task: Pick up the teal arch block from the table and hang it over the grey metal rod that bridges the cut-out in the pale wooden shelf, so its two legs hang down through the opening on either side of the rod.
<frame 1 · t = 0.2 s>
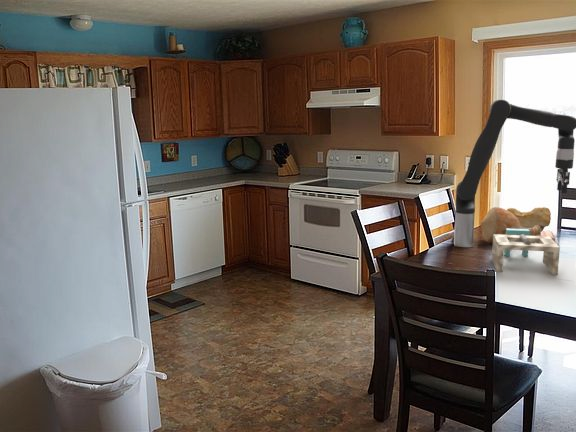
hand: (561, 191, 269), 29 cm above the table, fingers open, 8 cm apart
shelf: (523, 266, 246), on the table
orange-brown rounded sculpted piece: (509, 243, 288), on the table
rough brown rock: (527, 231, 315), on the table
teal arch block: (515, 255, 265), on the table
packaged product: (546, 242, 291), on the table
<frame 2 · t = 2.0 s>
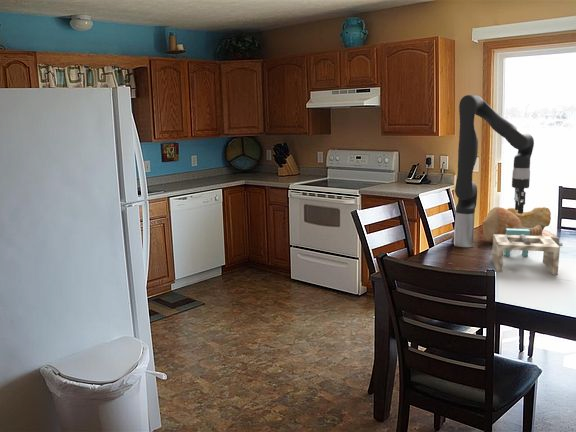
hand: (518, 211, 261), 21 cm above the table, fingers open, 8 cm apart
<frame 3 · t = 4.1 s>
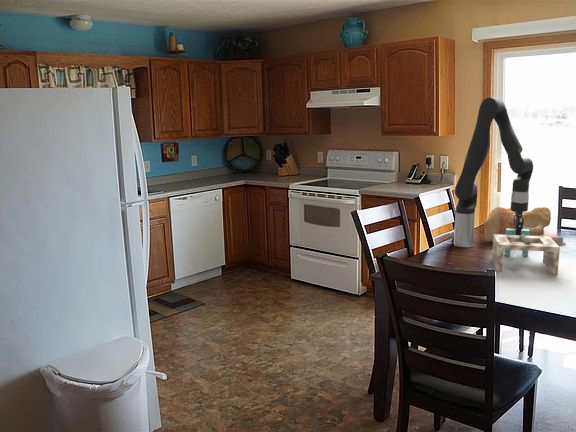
hand: (517, 236, 263), 9 cm above the table, fingers closed on teal arch block, 4 cm apart
teal arch block: (516, 255, 265), on the table, touching gripper
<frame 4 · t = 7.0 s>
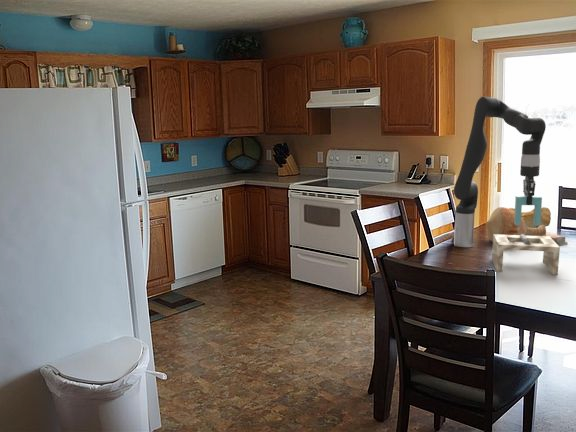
hand: (528, 203, 243), 28 cm above the table, fingers closed on teal arch block, 4 cm apart
orange-brown rounded sculpted piece: (514, 243, 288), on the table
teal arch block: (527, 224, 244), point 19 cm above the table, touching gripper
when the fingers open (15 cm above the table, at t = 10.0 s): teal arch block drops 1 cm, resting on shelf.
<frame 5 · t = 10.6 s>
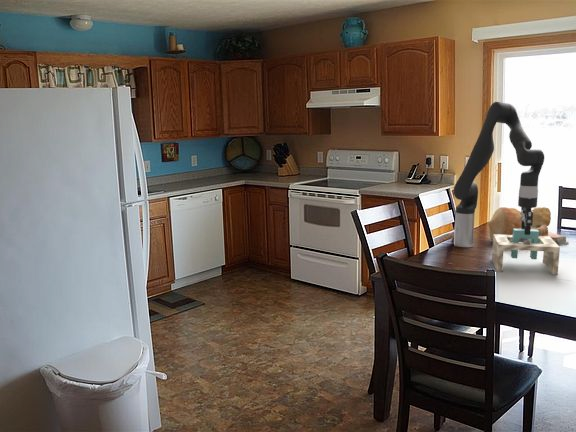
hand: (525, 232, 243), 16 cm above the table, fingers open, 8 cm apart
orange-brown rounded sculpted piece: (516, 243, 288), on the table
teal arch block: (523, 257, 245), point 4 cm above the table, touching shelf
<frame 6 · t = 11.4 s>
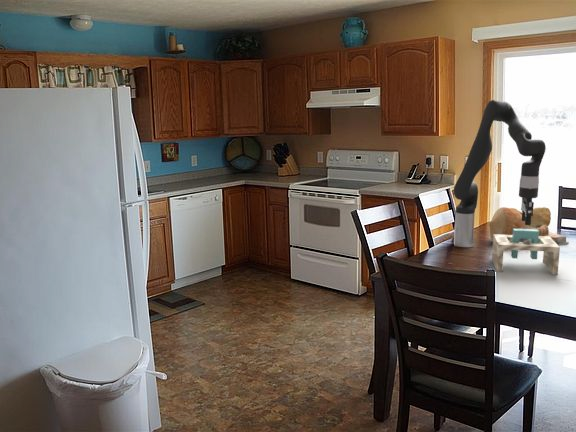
hand: (525, 223, 242), 20 cm above the table, fingers open, 8 cm apart
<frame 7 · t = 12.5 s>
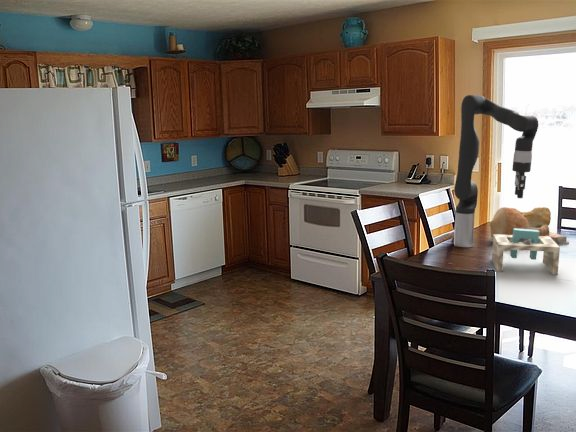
hand: (518, 196, 252), 30 cm above the table, fingers open, 8 cm apart
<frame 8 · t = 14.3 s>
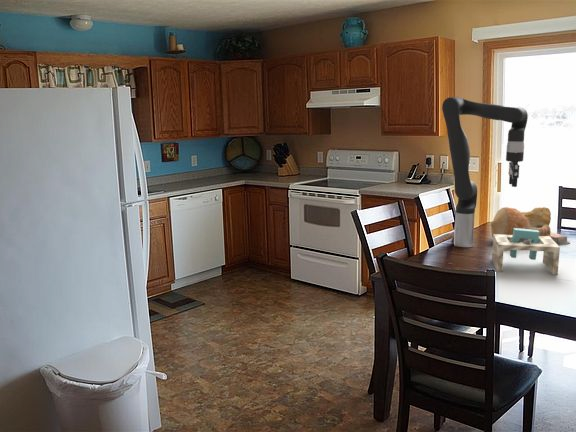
hand: (512, 185, 262), 33 cm above the table, fingers open, 8 cm apart
at the end: teal arch block inside the target area on the shelf (0.2 cm from its centre), point 4.2 cm above the shelf's base; teal arch block tilted 2°; the gripper is holding nothing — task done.
